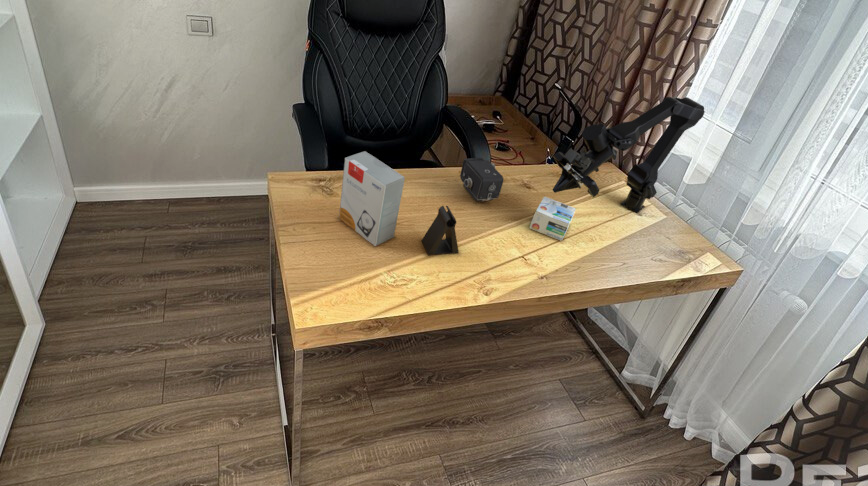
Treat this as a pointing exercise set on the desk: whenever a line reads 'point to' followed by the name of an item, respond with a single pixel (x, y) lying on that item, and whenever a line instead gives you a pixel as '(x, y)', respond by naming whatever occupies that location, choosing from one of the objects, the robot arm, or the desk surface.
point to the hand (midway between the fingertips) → (553, 191)
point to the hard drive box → (370, 197)
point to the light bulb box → (552, 218)
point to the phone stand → (441, 234)
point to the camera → (481, 179)
